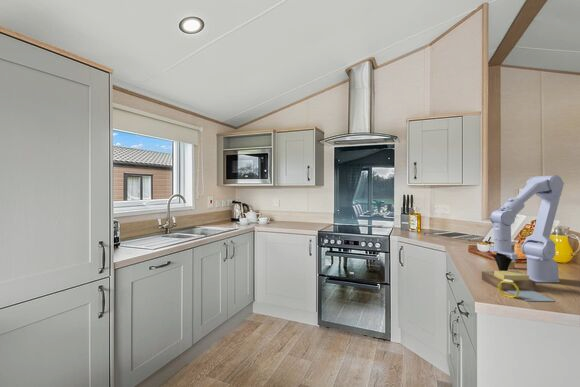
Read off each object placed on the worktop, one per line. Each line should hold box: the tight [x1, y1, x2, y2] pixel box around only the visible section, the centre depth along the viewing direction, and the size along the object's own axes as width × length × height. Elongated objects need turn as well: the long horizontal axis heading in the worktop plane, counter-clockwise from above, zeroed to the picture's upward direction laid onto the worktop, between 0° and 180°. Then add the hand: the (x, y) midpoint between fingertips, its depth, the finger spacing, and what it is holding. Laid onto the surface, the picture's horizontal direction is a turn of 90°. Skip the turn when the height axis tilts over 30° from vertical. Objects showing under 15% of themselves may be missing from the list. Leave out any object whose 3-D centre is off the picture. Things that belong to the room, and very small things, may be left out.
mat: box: [505, 290, 556, 303], centre depth 101 cm, size 9×10×1 cm
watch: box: [497, 279, 519, 299], centre depth 101 cm, size 6×3×6 cm, turn 37°
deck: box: [481, 270, 537, 292], centre depth 113 cm, size 12×13×4 cm
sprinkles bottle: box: [508, 239, 516, 270], centre depth 135 cm, size 5×5×13 cm
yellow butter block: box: [494, 270, 529, 281], centre depth 110 cm, size 9×6×2 cm, turn 84°
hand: (503, 272), depth 115 cm, fingers closed
